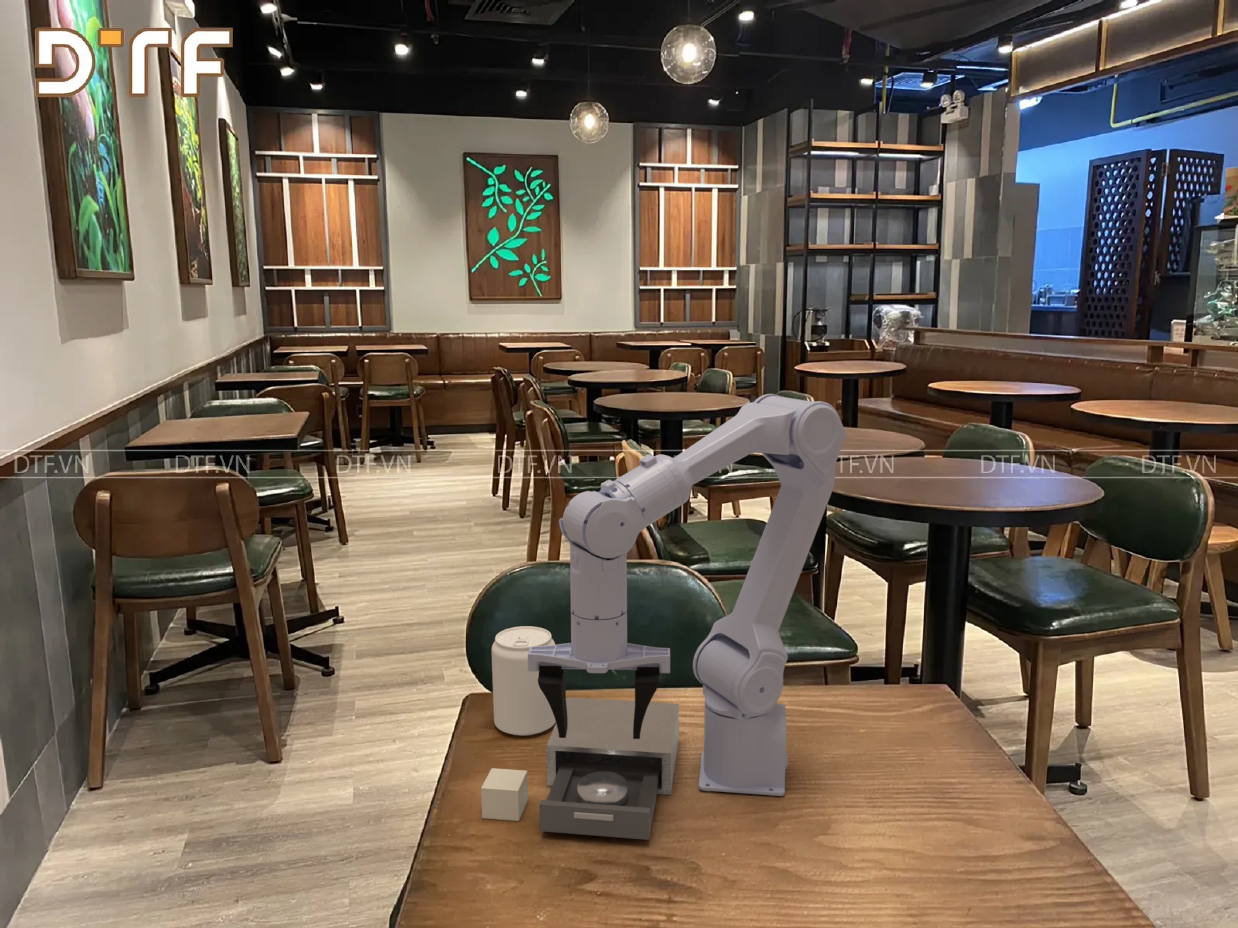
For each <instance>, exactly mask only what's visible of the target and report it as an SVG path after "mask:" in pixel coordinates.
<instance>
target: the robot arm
mask: <svg viewBox="0 0 1238 928" xmlns="http://www.w3.org/2000/svg"><path fill="white" fill-rule="evenodd" d="M846 437H847V433H846V430H845V428H844V425H843V423H842V420H841V418H840V415H839V414H838V411H837V410H836V409H835V407H834V406H833V405H832V404H830V403H828V402H825V401H821V400H820V401H819V400H817V401H810V400H805V399H797V398H793V397H792V398H791V397H786V396H785V397H784V396H781V395H778V394H775V393H767V394H763V395H760V396H759V397H757V398H756V399H755V400H754V401H753V402H751V401H750V402H749V403H746V404H743V405H742V406H741V408H739V411H738V412H737V413H736V414H735V416H733V417H732V418H730V419H729V420H727V421H726V422H724V423H723V424H721V425H720V426H718V427H717V428H716V429H714V430H713V431H711V432H710V433H708V434H707V435H706V436H703V437H702V438H701V439H700V440H698V441H696V442H695V443H694V444H692V445H690V447H688V448H686V449H685V450H683V451H682V452H680V453H679V454H678V455H676V456H675V457H673V456H672V457H671V456H669V455H665V454H656V455H655V456H654V455H651V454H646V455H643V456H642V457H641V458H639V461H638V462H639V465H637V466H636V467H634V468H633V469H631V470H630V471H627V473H624V474H622V475H620V476H619V477H618V478H616V479H615V480H611V479H607V480H605V481H604V482H602V484H601V488H600V490H599V491H595V490H592V491H590V490H586V491H582V492H580V493H578V494H576V495H575V496H574V497H573V498H571V500H570V501H569V502H568V504H567V506H566V507H565V509H564V512H563V516H562V517H561V518H559V520H558V524H559V529H560V531H561V534H562V535H563V537H564V538H565V539H566V540H567V542H568V543H569V550H570V551H569V554H570V555H569V557H570V561H569V562H570V565H569V567H570V568H569V570H570V571H569V577H570V578H569V579H570V582H569V583H570V584H569V585H570V586H569V587H570V633H571V634H570V635H571V637H570V639H571V642H568V643H558V644H555V645H550V646H537V647H530V649H529V652H528V671H539V677H538V684H539V687H540V689H541V691H542V692H543V694H544V695H545V697H546V699H547V701H548V703H549V705H550V707H551V709H552V712H553V714H554V717H555V721H556V722H555V725H556V724H557V728H558V733H559V738H566V734H567V729H568V717H567V706H566V700H567V697H566V696H567V694H566V693H567V692H566V691H567V690H566V689H567V688H566V687H567V670H586V672H587V673H589V674H606V673H607V672H608V671H612V670H614V671H615V670H617V671H618V670H619V671H625V670H626V671H629V670H630V671H635V673H634V701H635V711H634V724H633V739H640V732H641V727H642V723H643V719H644V716H645V713H646V710H647V708H648V705H649V703H650V702H652V701H651V700H653V697H654V695H655V693H656V692H657V691H658V687H659V684H660V673H661V674H670V673H671V648H670V647H658V646H657V647H655V646H649V645H648V646H647V645H642V644H636V643H635V644H634V643H631V642H630V643H629V642H628V574H627V573H628V565H627V564H628V563H627V561H628V560H627V559H628V558H627V553H629V551H630V550H631V549H632V548H633V546H634V545H635V543H636V541H637V538H638V536H639V534H640V533H641V532H642V531H644V530H645V529H646V528H647V527H648V526H650V525H652V524H654V523H655V522H657V521H658V520H659V519H661V518H664V516H666V515H667V514H670V513H671V512H672V511H674V510H675V509H678V508H679V507H681V506H682V505H684V504H685V503H687V502H688V500H689V499H690V496H691V491H692V487H693V485H695V484H697V483H699V482H700V481H703V480H705V479H706V478H708V477H710V476H712V475H714V474H715V473H717V472H719V471H720V470H723V469H725V468H726V467H729V466H730V465H732V464H734V463H735V462H738V461H740V460H741V459H743V458H745V457H747V456H749V455H750V454H754V453H757V454H760V453H761V454H762V455H763V457H764V458H765V459H766V460H767V462H769V464H771V466H772V468H773V469H774V472H775V474H776V476H777V478H778V480H779V482H780V488H779V491H778V493H777V496H776V498H775V501H774V504H773V506H772V509H771V511H770V513H769V516H768V519H767V521H766V524H765V527H764V530H763V532H762V535H761V538H760V540H759V543H758V545H757V547H756V550H755V553H754V556H753V558H752V560H751V563H750V566H749V569H748V570H747V574H746V575H745V576H746V577H745V579H744V582H743V584H742V587H741V590H740V592H739V594H738V596H737V597H738V598H737V599H736V602H735V604H734V607H733V609H732V610H733V611H732V612H731V613H729V614H728V615H725V616H724V617H722V618H720V619H718V620H716V621H715V622H714V623H713V625H712V628H711V630H710V632H709V634H708V635H707V636H706V638H705V639H704V640H703V641H702V643H700V645H699V646H698V647H697V649H696V651H695V653H694V656H693V660H692V671H693V674H694V676H695V678H696V679H697V680H698V682H699V683H700V684H701V685H702V694H703V696H704V708H703V709H704V711H703V712H704V714H703V717H704V720H703V721H704V722H703V723H704V725H703V730H704V731H703V751H702V752H701V758H700V767H699V777H698V778H699V779H698V789H699V790H700V791H705V792H706V791H710V792H719V793H720V792H723V793H724V792H725V793H733V794H734V793H737V794H751V795H762V796H763V795H764V796H765V795H766V796H776V797H777V796H779V797H783V796H785V794H786V789H785V788H786V783H785V782H786V769H788V752H787V710H786V709H787V708H786V705H785V704H782V703H778V701H779V699H780V697H781V695H782V691H783V688H784V671H785V667H786V663H787V662H788V658H789V656H788V653H787V649H786V648H785V646H784V644H783V640H782V638H781V636H780V632H779V630H780V628H781V625H782V622H783V619H784V617H785V615H786V613H787V611H788V607H789V604H790V602H791V599H792V597H793V594H794V592H795V589H796V586H797V583H798V581H799V578H800V576H801V573H802V571H803V568H804V566H805V563H806V560H807V558H808V556H809V555H808V554H809V553H810V550H811V547H812V545H813V542H814V540H815V537H816V534H817V531H818V529H819V527H820V524H821V521H822V518H823V516H824V513H825V511H826V508H827V505H828V503H829V500H830V498H831V495H832V493H833V490H834V486H835V481H836V480H835V479H836V468H837V467H836V466H837V460H838V458H839V455H840V453H841V451H842V448H843V445H844V443H845V440H846Z"/></svg>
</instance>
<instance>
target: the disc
mask: <svg viewBox="0 0 1238 928" xmlns="http://www.w3.org/2000/svg"><path fill="white" fill-rule="evenodd" d="M577 800H578V803H588V804H601V805H615V806H624V805H625V804H626V803H627V801H628V783H627V781H626V779H625V778H624V777H622V776H621V775H619V774H616V773H613V772H606V771H601V772H593V773H590V774H587V775H585V776H583V777H582V778H581V779H580V780H579V781H578V784H577Z"/></svg>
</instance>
